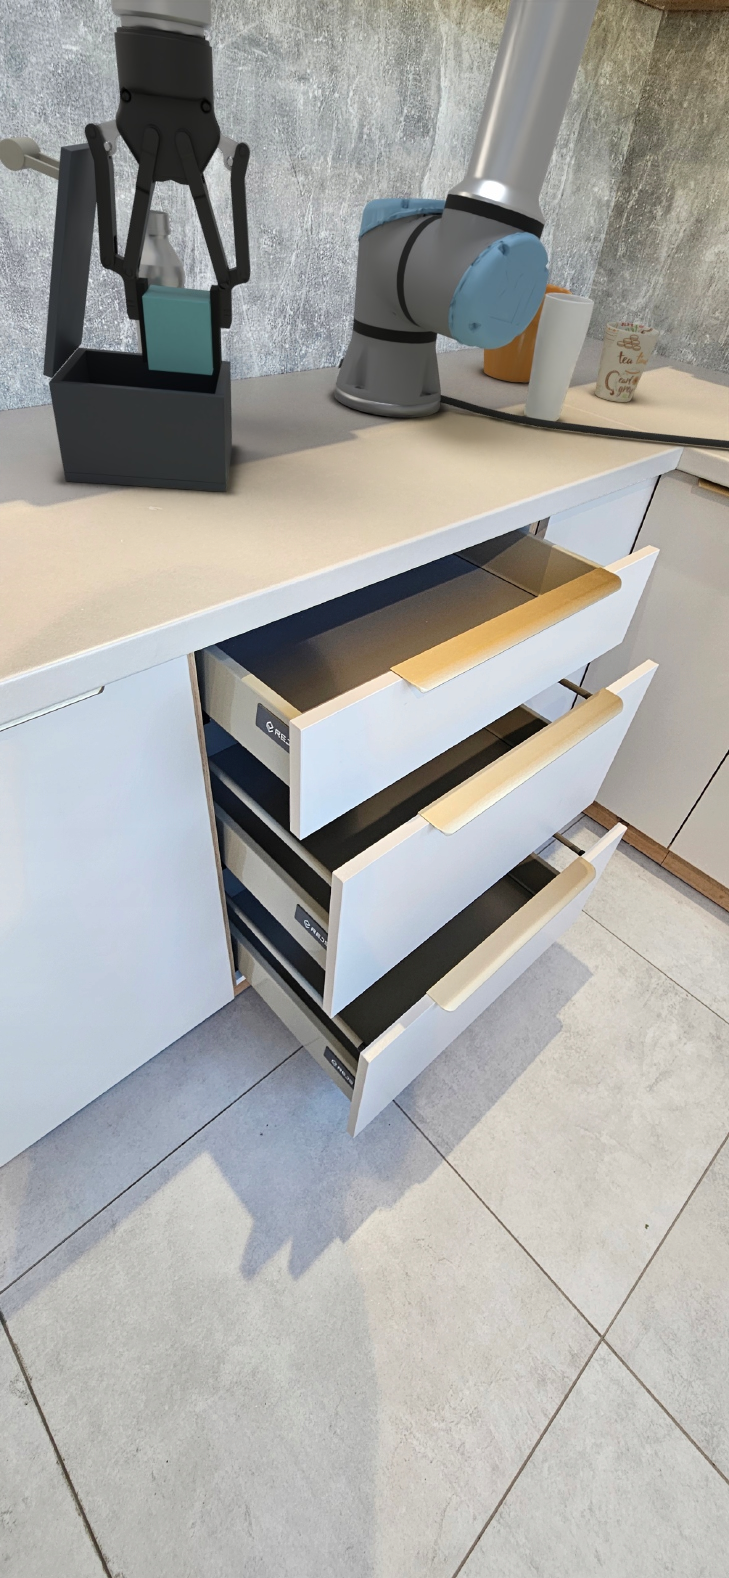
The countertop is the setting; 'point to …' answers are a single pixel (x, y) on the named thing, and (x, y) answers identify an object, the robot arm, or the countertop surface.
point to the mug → (623, 359)
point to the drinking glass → (556, 353)
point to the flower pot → (517, 350)
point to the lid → (63, 239)
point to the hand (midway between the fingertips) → (183, 361)
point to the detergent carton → (178, 329)
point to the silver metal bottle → (159, 258)
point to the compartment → (142, 422)
